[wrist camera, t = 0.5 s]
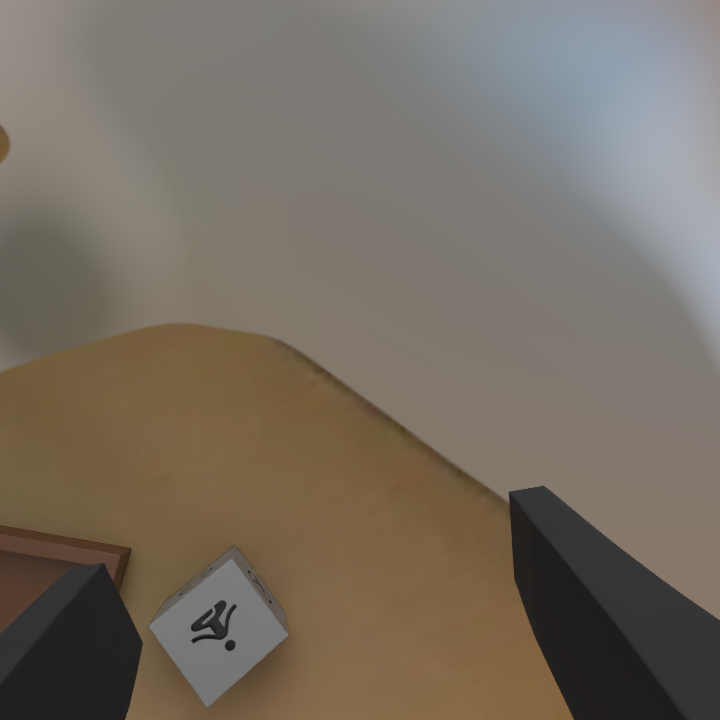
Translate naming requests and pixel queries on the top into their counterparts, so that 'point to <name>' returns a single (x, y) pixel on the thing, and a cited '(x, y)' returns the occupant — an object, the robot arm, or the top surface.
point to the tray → (46, 565)
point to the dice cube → (220, 625)
